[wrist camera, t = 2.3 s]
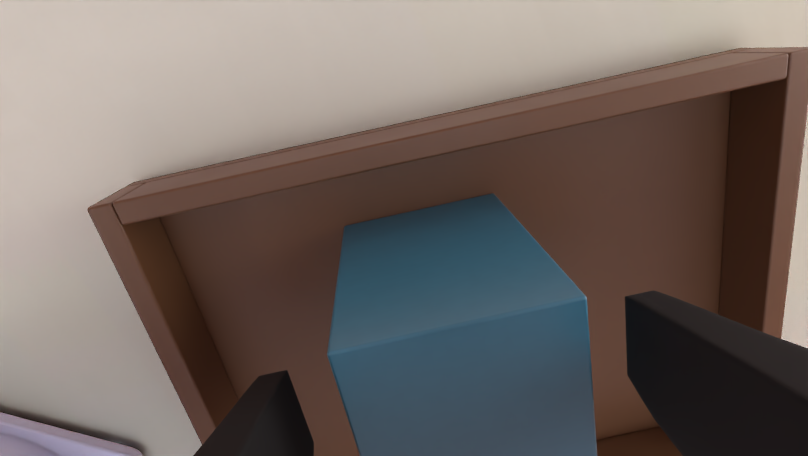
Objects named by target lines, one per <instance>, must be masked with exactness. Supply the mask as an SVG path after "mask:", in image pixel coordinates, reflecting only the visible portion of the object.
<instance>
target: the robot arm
mask: <svg viewBox="0 0 808 456" xmlns="http://www.w3.org/2000/svg"><path fill="white" fill-rule="evenodd" d="M625 319H626V351H627V375H628V377H629V379H630V380H631V382H632V384H633V385H634V387H635V389H636V391H637V392H638V394H639V396H640V397H641V399H642V401H643V402H644V404H645V405H646V407H647V409H648V410H649V412H650V413H651V415H652V416H653V418H654V419H655V421H656V422H657V423H658V425H659V426H660V427H661V429H662V430H663V431H664V432H665V434H666V435H667V436H668V438H669V439H670V440H671V441H672V443H673V444H674V445H675V446H676V448H677V449H678V450H679V452H680V453H681V454H682V455H683V456H808V349H807V348H804V347H802V346H799V345H796V344H793V343H791V342H788V341H785V340H782V339H780V338H777V337H774V336H772V335H769V334H766V333H764V332H761V331H759V330H756V329H753V328H751V327H748V326H746V325H743V324H741V323H738V322H736V321H733V320H730V319H728V318H725V317H723V316H720V315H718V314H715V313H713V312H710V311H708V310H705V309H703V308H700V307H698V306H695V305H693V304H690V303H688V302H685V301H683V300H680V299H677V298H675V297H672V296H669V295H667V294H664V293H661V292H658V291H654V290H652V291H648V292H643V293H639V294H634V295H629V296H625ZM0 456H143V455H142V453H141V452H140V451H139V450H137V449H135V448H133V447H130V446H126V445H122V444H118V443H114V442H111V441H107V440H103V439H99V438H96V437H92V436H88V435H84V434H81V433H77V432H73V431H69V430H65V429H62V428H58V427H54V426H50V425H47V424H43V423H39V422H35V421H32V420H28V419H24V418H20V417H16V416H13V415H9V414H5V413H1V412H0ZM194 456H314V441H313V438H312V436H311V433H310V430H309V428H308V425H307V422H306V419H305V417H304V414H303V411H302V409H301V406H300V403H299V400H298V398H297V395H296V392H295V390H294V387H293V384H292V382H291V379H290V376H289V373H288V371H287V370H284V371H279V372H275V373H270V374H265V375H261V376H258V378H257V379H256V380H255V381H254V382H253V383H252V384H251V386H250V387H249V388H248V389H247V390H246V392H245V393H244V394H243V395H242V397H241V398H240V399H239V400H238V402H237V403H236V404H235V405H234V407H233V408H232V409H231V410H230V412H229V413H228V414H227V415H226V417H225V418H224V419H223V420H222V422H221V423H220V424H219V425H218V427H217V428H216V429H215V430H214V431H213V433H212V434H211V435H210V436H209V438H208V439H207V440H206V441H205V442H204V444H203V445H202V446H201V447H200V449H199V450H198V451H197V452H196V453H195V455H194Z"/></svg>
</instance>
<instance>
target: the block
mask: <svg viewBox="0 0 808 456" xmlns="http://www.w3.org/2000/svg"><path fill="white" fill-rule="evenodd" d="M327 356H328V359H329V362H330V366H331V369H332V372H333V375H334V378H335V381H336V384H337V387H338V390H339V393H340V396H341V399H342V402H343V406H344V409H345V412H346V415H347V418H348V421H349V424H350V427H351V430H352V433H353V436H354V439H355V442H356V446H357V449H358V452H359V455H360V456H597V443H596V428H595V413H594V398H593V383H592V368H591V354H590V339H589V324H588V309H587V297H586V296H585V295H584V293H583V292H582V291H581V290H580V289H579V288H578V287H577V286H576V284H575V283H574V282H573V281H572V280H571V279H570V278H569V277H568V276H567V274H566V273H565V272H564V271H563V270H562V269H561V268H560V267H559V266H558V264H557V263H556V262H555V261H554V260H553V259H552V258H551V257H550V256H549V254H548V253H547V252H546V251H545V250H544V249H543V248H542V247H541V245H540V244H539V243H538V242H537V241H536V240H535V239H534V238H533V237H532V235H531V234H530V233H529V232H528V231H527V230H526V229H525V228H524V227H523V225H522V224H521V223H520V222H519V221H518V220H517V219H516V218H515V217H514V215H513V214H512V213H511V212H510V211H509V210H508V209H507V208H506V206H505V205H504V204H503V203H502V202H501V201H500V200H499V199H498V198H497V196H496V195H495V194H493V193H492V194H488V195H483V196H479V197H474V198H469V199H465V200H460V201H456V202H451V203H447V204H442V205H438V206H433V207H429V208H424V209H420V210H415V211H411V212H406V213H401V214H397V215H392V216H388V217H383V218H379V219H374V220H370V221H365V222H361V223H356V224H352V225H347V226H345V227H344V232H343V239H342V247H341V254H340V261H339V269H338V276H337V284H336V291H335V299H334V306H333V314H332V321H331V328H330V336H329V343H328V351H327Z"/></svg>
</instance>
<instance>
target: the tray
mask: <svg viewBox="0 0 808 456" xmlns="http://www.w3.org/2000/svg"><path fill="white" fill-rule="evenodd" d="M807 111H808V47H787V48H738V49H734V50H729V51H725V52H720V53H716V54H711V55H707V56H702V57H698V58H693V59H689V60H684V61H679V62H675V63H670V64H666V65H661V66H657V67H652V68H648V69H643V70H639V71H634V72H630V73H625V74H621V75H616V76H612V77H607V78H603V79H598V80H594V81H589V82H585V83H580V84H576V85H571V86H567V87H562V88H558V89H553V90H549V91H544V92H540V93H535V94H530V95H526V96H521V97H517V98H512V99H508V100H503V101H499V102H494V103H490V104H485V105H481V106H476V107H472V108H467V109H463V110H458V111H454V112H449V113H445V114H440V115H436V116H431V117H427V118H422V119H418V120H413V121H409V122H404V123H400V124H395V125H390V126H386V127H381V128H377V129H372V130H368V131H363V132H359V133H354V134H350V135H345V136H341V137H336V138H332V139H327V140H323V141H318V142H314V143H309V144H305V145H300V146H296V147H291V148H287V149H282V150H278V151H273V152H269V153H264V154H260V155H255V156H250V157H246V158H241V159H237V160H232V161H228V162H223V163H219V164H214V165H210V166H205V167H201V168H196V169H192V170H187V171H183V172H178V173H174V174H169V175H165V176H160V177H156V178H151V179H147V180H142V181H138V182H133V183H132V184H130V185H128V186H126V187H125V188H123V189H121V190H119V191H117V192H116V193H114V194H112V195H110V196H108V197H107V198H105V199H103V200H101V201H99V202H98V203H96V204H94V205H92V206H90V207H89V208H88V212H89V214H90V216H91V218H92V221H93V223H94V225H95V227H96V229H97V231H98V233H99V235H100V237H101V239H102V241H103V243H104V245H105V247H106V249H107V251H108V253H109V255H110V257H111V259H112V261H113V263H114V265H115V267H116V270H117V272H118V274H119V276H120V278H121V280H122V282H123V284H124V286H125V288H126V290H127V292H128V294H129V296H130V298H131V300H132V302H133V304H134V306H135V308H136V310H137V312H138V314H139V316H140V318H141V321H142V323H143V325H144V327H145V329H146V331H147V333H148V335H149V337H150V339H151V341H152V343H153V345H154V347H155V349H156V351H157V353H158V355H159V357H160V359H161V361H162V363H163V365H164V367H165V370H166V372H167V374H168V376H169V378H170V380H171V382H172V384H173V386H174V388H175V390H176V392H177V394H178V396H179V398H180V400H181V402H182V404H183V406H184V408H185V410H186V412H187V414H188V416H189V418H190V421H191V423H192V425H193V427H194V429H195V431H196V433H197V435H198V437H199V439H200V441H201V443H202V445H203V444H204V442H205V441H206V440H207V439H208V438H209V436H210V435H211V434H212V433H213V431H214V430H215V429H216V428H217V427H218V425H219V424H220V423H221V422H222V420H223V419H224V418H225V417H226V415H227V414H228V413H229V412H230V410H231V409H232V408H233V407H234V405H235V404H236V403H237V402H238V400H239V399H240V398H241V397H242V395H243V394H244V393H245V392H246V390H247V389H248V388H249V387H250V386H251V384H252V383H253V382H254V381H255V380H256V379H257V378H258V376H261V375H265V374H270V373H275V372H279V371H284V370H287V371H288V373H289V376H290V379H291V382H292V384H293V387H294V390H295V392H296V395H297V398H298V400H299V403H300V406H301V409H302V411H303V414H304V417H305V419H306V422H307V425H308V428H309V430H310V433H311V436H312V438H313V441H314V456H360V455H359V452H358V449H357V446H356V442H355V439H354V436H353V433H352V430H351V427H350V424H349V421H348V418H347V415H346V412H345V409H344V406H343V402H342V399H341V396H340V393H339V390H338V387H337V384H336V381H335V378H334V375H333V372H332V369H331V366H330V362H329V359H328V356H327V351H328V343H329V336H330V328H331V321H332V314H333V306H334V299H335V291H336V284H337V276H338V269H339V261H340V254H341V247H342V239H343V232H344V227H345V226H347V225H352V224H356V223H361V222H365V221H370V220H374V219H379V218H383V217H388V216H392V215H397V214H401V213H406V212H411V211H415V210H420V209H424V208H429V207H433V206H438V205H442V204H447V203H451V202H456V201H460V200H465V199H469V198H474V197H479V196H483V195H488V194H492V193H493V194H495V195H496V196H497V198H498V199H499V200H500V201H501V202H502V203H503V204H504V205H505V206H506V208H507V209H508V210H509V211H510V212H511V213H512V214H513V215H514V217H515V218H516V219H517V220H518V221H519V222H520V223H521V224H522V225H523V227H524V228H525V229H526V230H527V231H528V232H529V233H530V234H531V235H532V237H533V238H534V239H535V240H536V241H537V242H538V243H539V244H540V245H541V247H542V248H543V249H544V250H545V251H546V252H547V253H548V254H549V256H550V257H551V258H552V259H553V260H554V261H555V262H556V263H557V264H558V266H559V267H560V268H561V269H562V270H563V271H564V272H565V273H566V274H567V276H568V277H569V278H570V279H571V280H572V281H573V282H574V283H575V284H576V286H577V287H578V288H579V289H580V290H581V291H582V292H583V293H584V295H585V296H586V297H587V309H588V324H589V339H590V354H591V368H592V383H593V398H594V413H595V428H596V443H597V456H683V455H682V454H681V453H680V452H679V450H678V449H677V448H676V446H675V445H674V444H673V443H672V441H671V440H670V439H669V438H668V436H667V435H666V434H665V432H664V431H663V430H662V429H661V427H660V426H659V425H658V423H657V422H656V421H655V419H654V418H653V416H652V415H651V413H650V412H649V410H648V409H647V407H646V405H645V404H644V402H643V401H642V399H641V397H640V396H639V394H638V392H637V391H636V389H635V387H634V385H633V384H632V382H631V380H630V379H629V377H628V375H627V351H626V319H625V296H629V295H634V294H639V293H643V292H648V291H652V290H654V291H658V292H661V293H664V294H667V295H669V296H672V297H675V298H677V299H680V300H683V301H685V302H688V303H690V304H693V305H695V306H698V307H700V308H703V309H705V310H708V311H710V312H713V313H715V314H718V315H720V316H723V317H725V318H728V319H730V320H733V321H736V322H738V323H741V324H743V325H746V326H748V327H751V328H753V329H756V330H759V331H761V332H764V333H766V334H769V335H772V336H774V337H777V338H780V339H781V334H782V325H783V317H784V308H785V299H786V291H787V282H788V274H789V265H790V257H791V248H792V240H793V231H794V222H795V214H796V205H797V197H798V188H799V180H800V171H801V163H802V154H803V145H804V137H805V128H806V120H807Z"/></svg>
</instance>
